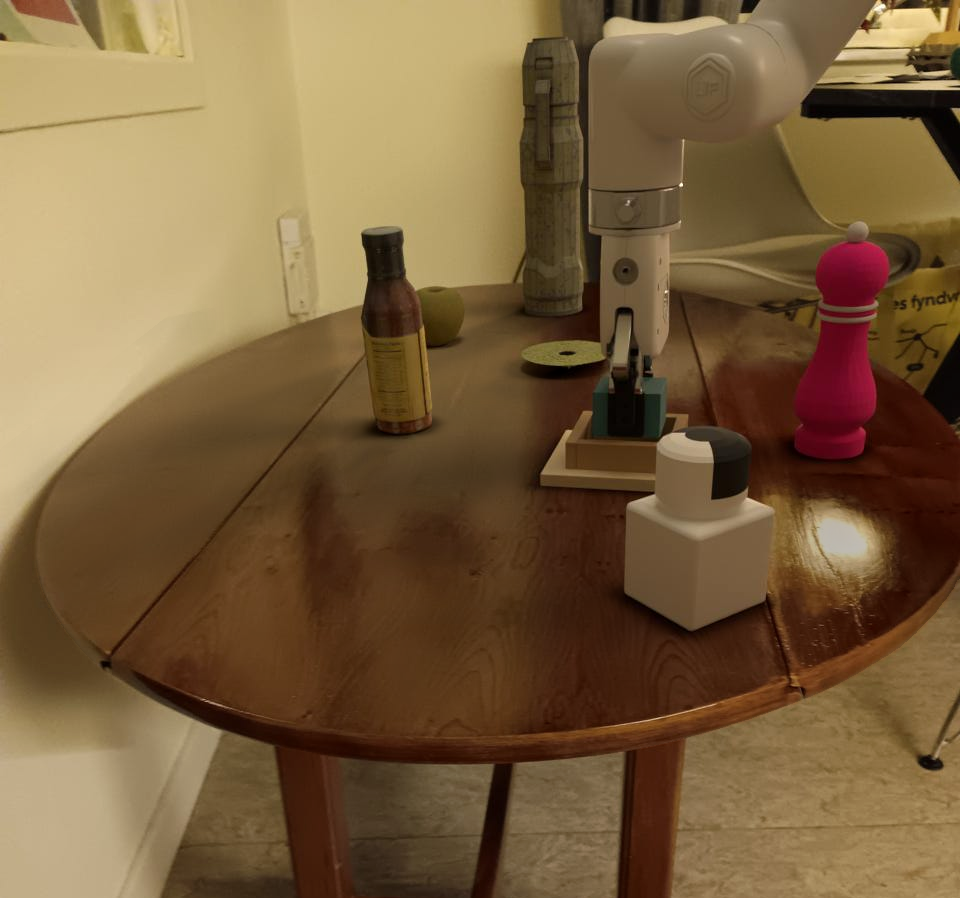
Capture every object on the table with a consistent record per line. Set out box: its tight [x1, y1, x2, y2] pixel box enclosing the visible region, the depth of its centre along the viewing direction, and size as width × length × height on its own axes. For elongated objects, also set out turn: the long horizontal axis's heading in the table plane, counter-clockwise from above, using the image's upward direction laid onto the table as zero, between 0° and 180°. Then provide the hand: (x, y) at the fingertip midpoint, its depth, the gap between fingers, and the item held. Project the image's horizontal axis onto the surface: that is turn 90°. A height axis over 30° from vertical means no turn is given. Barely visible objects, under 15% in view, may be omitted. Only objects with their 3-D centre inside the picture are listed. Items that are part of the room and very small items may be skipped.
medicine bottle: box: [623, 425, 776, 632], centre depth 67 cm, size 7×7×12 cm
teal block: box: [591, 375, 668, 438], centre depth 89 cm, size 6×5×4 cm
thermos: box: [518, 36, 584, 317], centre depth 139 cm, size 9×12×35 cm
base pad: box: [539, 410, 689, 493], centre depth 91 cm, size 14×12×4 cm
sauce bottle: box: [360, 225, 433, 435], centre depth 100 cm, size 6×6×20 cm
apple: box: [415, 285, 465, 347], centre depth 133 cm, size 8×8×7 cm
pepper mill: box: [792, 220, 890, 460], centre depth 88 cm, size 7×7×20 cm
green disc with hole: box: [520, 339, 607, 370], centre depth 121 cm, size 11×11×2 cm
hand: (630, 423), depth 90 cm, fingers closed on teal block, 5 cm apart
